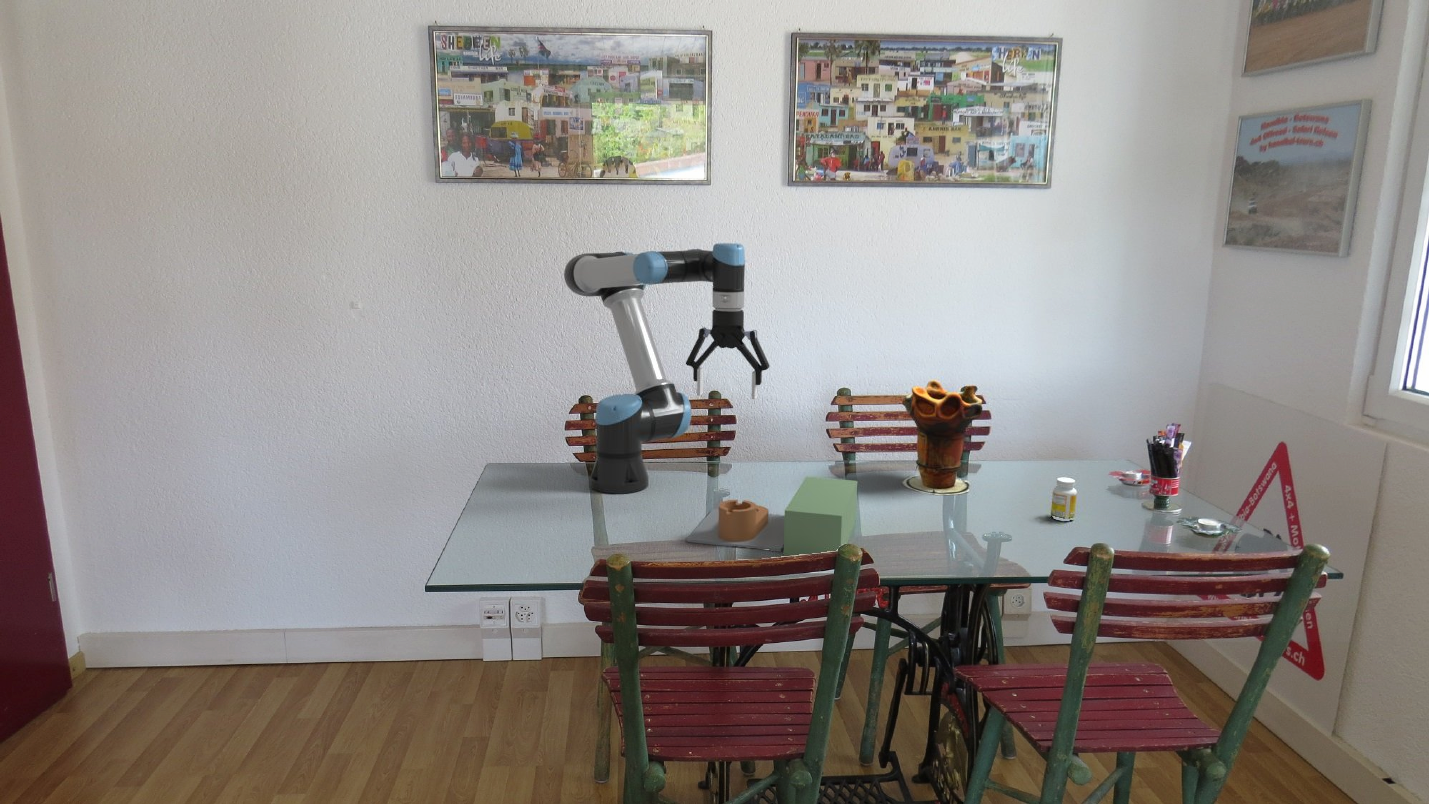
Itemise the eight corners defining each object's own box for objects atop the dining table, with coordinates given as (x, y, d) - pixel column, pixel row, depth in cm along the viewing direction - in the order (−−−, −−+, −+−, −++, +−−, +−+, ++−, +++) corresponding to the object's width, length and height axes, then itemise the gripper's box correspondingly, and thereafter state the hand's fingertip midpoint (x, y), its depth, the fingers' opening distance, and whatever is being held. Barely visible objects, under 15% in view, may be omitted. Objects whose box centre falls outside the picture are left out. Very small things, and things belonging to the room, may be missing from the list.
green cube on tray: (684, 544, 209) (684, 500, 207) (715, 508, 233) (715, 468, 231) (840, 561, 200) (841, 515, 198) (855, 522, 225) (857, 480, 223)
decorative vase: (981, 474, 263) (987, 375, 255) (974, 503, 242) (981, 396, 234) (904, 467, 269) (908, 370, 262) (891, 495, 248) (895, 390, 241)
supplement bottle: (1054, 522, 226) (1058, 482, 224) (1047, 514, 231) (1050, 476, 229) (1077, 522, 226) (1081, 483, 224) (1069, 514, 231) (1073, 476, 229)
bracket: (749, 543, 208) (749, 513, 207) (713, 538, 211) (713, 508, 209) (772, 518, 225) (773, 490, 223) (738, 514, 227) (739, 486, 226)
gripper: (673, 308, 228) (673, 396, 233) (776, 313, 222) (774, 402, 226) (682, 305, 235) (682, 390, 240) (782, 309, 229) (780, 396, 233)
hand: (727, 396), depth 233 cm, fingers open, 13 cm apart
